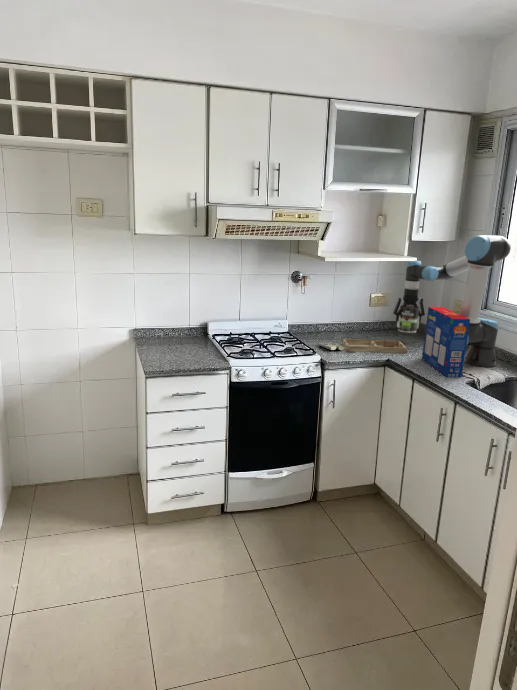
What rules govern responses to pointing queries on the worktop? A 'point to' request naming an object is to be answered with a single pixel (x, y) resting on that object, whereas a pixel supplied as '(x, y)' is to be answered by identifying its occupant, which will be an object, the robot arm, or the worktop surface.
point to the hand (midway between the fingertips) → (407, 327)
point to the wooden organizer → (372, 346)
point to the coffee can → (408, 319)
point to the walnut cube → (388, 343)
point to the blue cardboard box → (445, 341)
